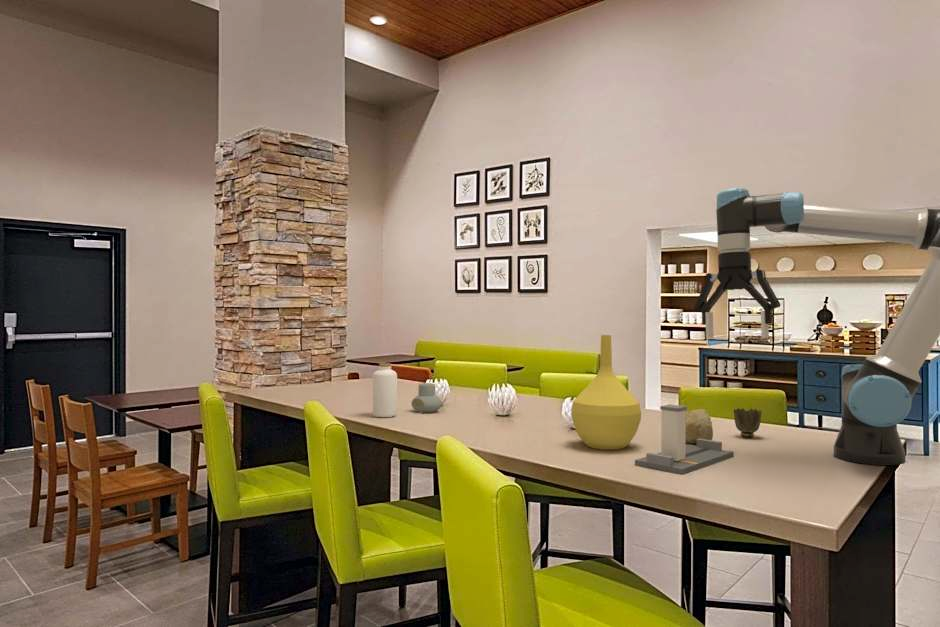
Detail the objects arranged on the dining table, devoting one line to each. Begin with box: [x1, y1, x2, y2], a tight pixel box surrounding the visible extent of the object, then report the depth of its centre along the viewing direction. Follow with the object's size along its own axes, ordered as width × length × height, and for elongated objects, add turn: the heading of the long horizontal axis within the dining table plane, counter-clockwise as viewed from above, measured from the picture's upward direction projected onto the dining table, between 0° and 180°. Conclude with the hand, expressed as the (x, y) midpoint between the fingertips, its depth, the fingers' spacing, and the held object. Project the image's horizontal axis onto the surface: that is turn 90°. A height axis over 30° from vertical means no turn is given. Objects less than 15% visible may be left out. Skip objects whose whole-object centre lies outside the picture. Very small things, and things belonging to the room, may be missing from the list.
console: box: [634, 438, 734, 475], centre depth 157 cm, size 26×12×3 cm, turn 134°
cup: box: [733, 407, 763, 439], centre depth 186 cm, size 8×7×8 cm
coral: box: [686, 408, 714, 445], centre depth 179 cm, size 10×10×10 cm
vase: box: [570, 334, 642, 451], centre depth 174 cm, size 18×18×30 cm
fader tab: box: [659, 403, 688, 461], centre depth 153 cm, size 4×4×12 cm
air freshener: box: [411, 382, 443, 413], centre depth 232 cm, size 11×8×10 cm
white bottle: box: [372, 362, 398, 418], centre depth 222 cm, size 8×8×18 cm
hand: (736, 338), depth 160 cm, fingers open, 13 cm apart
